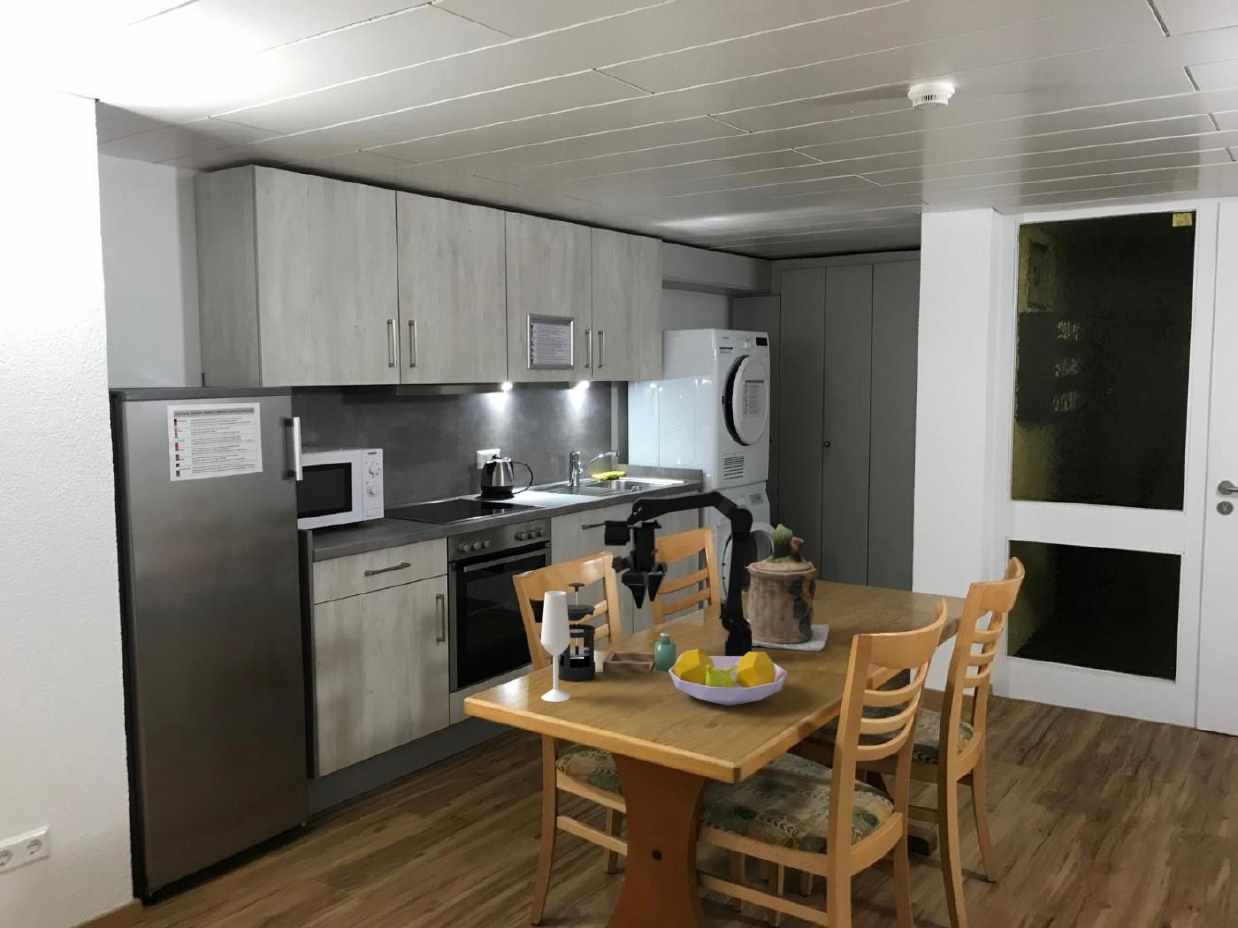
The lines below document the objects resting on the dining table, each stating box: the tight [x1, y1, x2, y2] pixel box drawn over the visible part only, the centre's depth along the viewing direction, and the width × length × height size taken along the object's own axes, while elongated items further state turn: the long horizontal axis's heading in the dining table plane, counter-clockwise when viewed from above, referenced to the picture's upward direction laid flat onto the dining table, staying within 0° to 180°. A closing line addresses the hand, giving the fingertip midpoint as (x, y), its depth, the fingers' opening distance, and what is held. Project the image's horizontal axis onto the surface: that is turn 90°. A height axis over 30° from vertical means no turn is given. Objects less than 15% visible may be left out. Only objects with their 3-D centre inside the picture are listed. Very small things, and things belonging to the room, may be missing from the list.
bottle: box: [654, 631, 677, 673], centre depth 252 cm, size 5×5×9 cm
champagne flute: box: [540, 590, 571, 703], centre depth 228 cm, size 7×7×24 cm
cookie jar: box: [746, 523, 830, 652], centre depth 280 cm, size 25×25×32 cm
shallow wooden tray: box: [602, 650, 655, 675], centre depth 253 cm, size 12×11×2 cm
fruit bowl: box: [668, 648, 788, 707], centre depth 228 cm, size 28×27×11 cm
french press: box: [558, 582, 597, 683], centre depth 245 cm, size 12×9×23 cm
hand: (645, 604), depth 262 cm, fingers open, 9 cm apart
